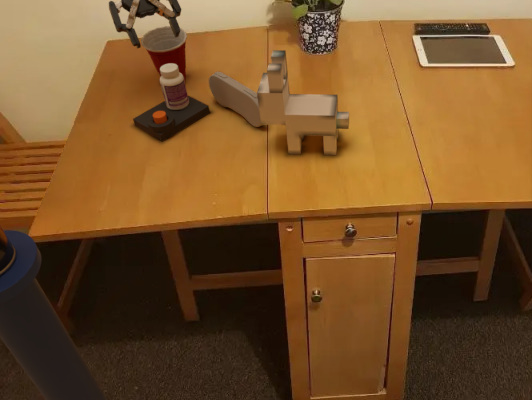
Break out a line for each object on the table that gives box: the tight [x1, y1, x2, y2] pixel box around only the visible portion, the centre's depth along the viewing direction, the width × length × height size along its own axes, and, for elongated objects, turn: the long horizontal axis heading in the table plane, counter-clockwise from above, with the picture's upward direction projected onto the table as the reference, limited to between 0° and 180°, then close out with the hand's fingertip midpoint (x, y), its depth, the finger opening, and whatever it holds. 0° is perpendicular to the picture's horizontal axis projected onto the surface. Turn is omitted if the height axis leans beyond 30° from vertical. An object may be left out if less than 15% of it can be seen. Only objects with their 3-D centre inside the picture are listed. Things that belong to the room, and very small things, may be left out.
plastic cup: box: [140, 25, 188, 81], centre depth 142 cm, size 11×11×12 cm
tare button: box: [153, 111, 167, 124], centre depth 127 cm, size 3×3×2 cm
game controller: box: [208, 71, 263, 128], centre depth 131 cm, size 20×2×8 cm, turn 44°
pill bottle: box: [159, 63, 189, 110], centre depth 131 cm, size 5×5×10 cm
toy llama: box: [256, 49, 350, 156], centre depth 118 cm, size 8×18×20 cm, turn 85°
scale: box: [132, 95, 211, 142], centre depth 132 cm, size 14×10×4 cm
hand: (158, 41), depth 124 cm, fingers open, 8 cm apart
